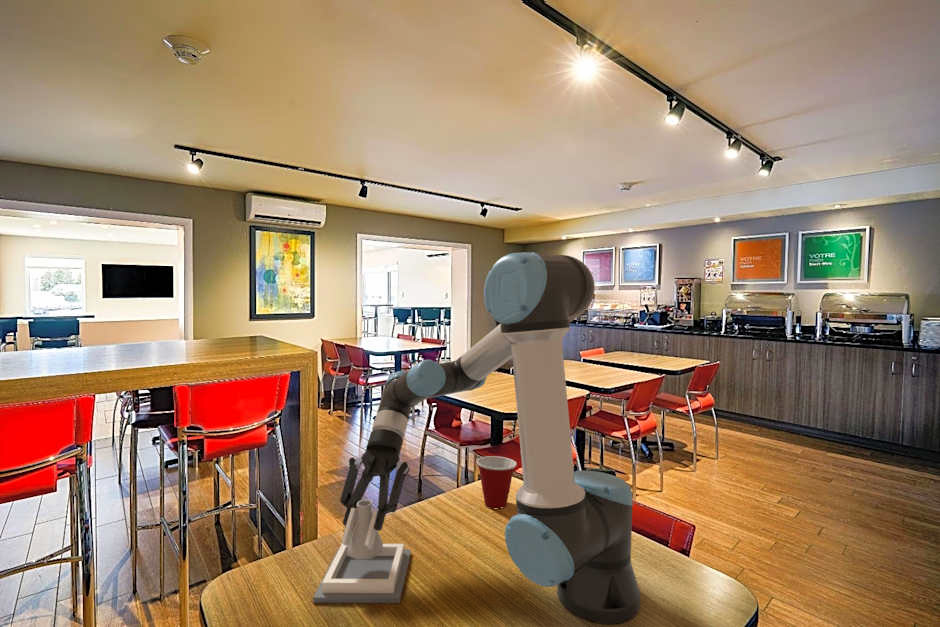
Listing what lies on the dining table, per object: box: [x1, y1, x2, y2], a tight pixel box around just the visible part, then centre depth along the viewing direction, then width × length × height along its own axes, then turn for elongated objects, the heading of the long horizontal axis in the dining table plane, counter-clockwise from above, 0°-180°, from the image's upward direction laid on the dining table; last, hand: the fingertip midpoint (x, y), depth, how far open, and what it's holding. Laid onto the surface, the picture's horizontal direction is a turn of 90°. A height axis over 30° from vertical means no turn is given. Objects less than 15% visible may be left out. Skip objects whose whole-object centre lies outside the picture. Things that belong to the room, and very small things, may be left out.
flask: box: [347, 498, 384, 560], centre depth 95 cm, size 7×7×10 cm
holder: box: [312, 542, 412, 604], centre depth 95 cm, size 16×16×3 cm
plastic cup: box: [476, 455, 517, 509], centre depth 126 cm, size 11×11×12 cm
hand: (356, 545), depth 91 cm, fingers closed on flask, 4 cm apart
